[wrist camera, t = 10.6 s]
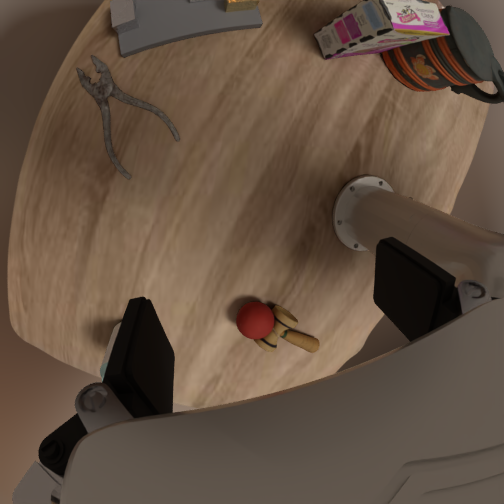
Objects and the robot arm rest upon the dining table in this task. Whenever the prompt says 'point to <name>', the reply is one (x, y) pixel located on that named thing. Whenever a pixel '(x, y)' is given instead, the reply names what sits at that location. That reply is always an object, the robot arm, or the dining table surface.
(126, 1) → the block
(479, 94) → the beer stein
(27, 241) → the dining table surface
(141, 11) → the tie down board
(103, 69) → the pliers
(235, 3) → the bracket
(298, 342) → the kendama
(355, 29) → the candy bar box
